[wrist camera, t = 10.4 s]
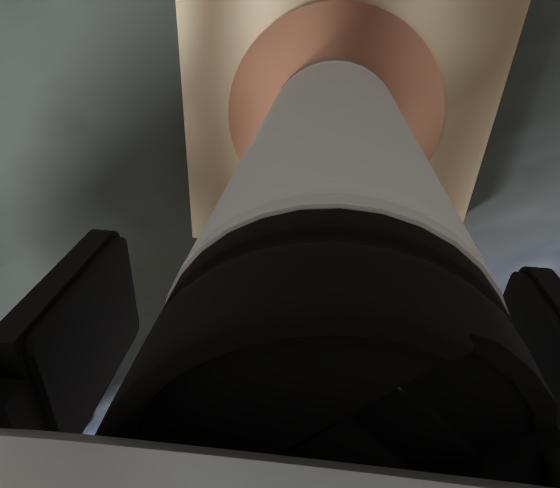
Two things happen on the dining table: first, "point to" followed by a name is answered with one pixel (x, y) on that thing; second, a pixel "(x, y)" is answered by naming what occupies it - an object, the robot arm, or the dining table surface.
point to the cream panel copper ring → (348, 45)
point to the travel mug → (341, 309)
